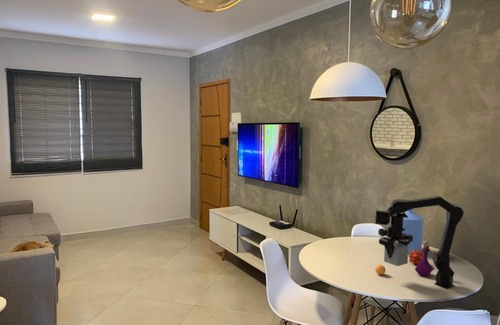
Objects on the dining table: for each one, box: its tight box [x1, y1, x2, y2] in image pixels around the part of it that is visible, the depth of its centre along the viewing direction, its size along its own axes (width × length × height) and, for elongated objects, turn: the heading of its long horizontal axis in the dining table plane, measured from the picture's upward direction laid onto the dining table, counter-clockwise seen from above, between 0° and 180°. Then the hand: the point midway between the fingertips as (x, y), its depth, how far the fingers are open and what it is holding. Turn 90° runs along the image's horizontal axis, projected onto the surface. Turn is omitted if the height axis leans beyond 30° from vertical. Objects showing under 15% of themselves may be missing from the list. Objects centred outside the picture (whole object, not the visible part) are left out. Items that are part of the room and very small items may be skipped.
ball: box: [374, 264, 386, 275], centre depth 195 cm, size 5×5×5 cm
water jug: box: [396, 209, 424, 255], centre depth 231 cm, size 16×16×28 cm
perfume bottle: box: [414, 240, 435, 277], centre depth 194 cm, size 8×8×18 cm
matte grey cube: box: [383, 242, 409, 267], centre depth 186 cm, size 8×8×9 cm
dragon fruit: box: [408, 250, 424, 267], centre depth 209 cm, size 8×8×12 cm
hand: (395, 256), depth 186 cm, fingers closed on matte grey cube, 8 cm apart
